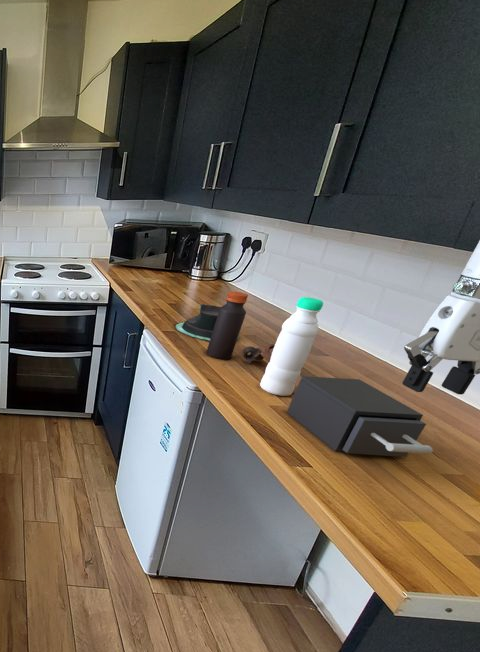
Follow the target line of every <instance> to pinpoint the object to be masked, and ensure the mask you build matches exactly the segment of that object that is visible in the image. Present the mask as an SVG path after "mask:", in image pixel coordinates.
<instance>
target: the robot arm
mask: <svg viewBox="0 0 480 652" xmlns="http://www.w3.org/2000/svg"><path fill="white" fill-rule="evenodd" d="M403 349H404V352H405V354H406V355H407V359H408V360H409V362H408V364H409V365H410V368H409V369H408V372H407V373H406V375H405V377H404V378H403V380H402V383H401V384H402V385H403V386H404V387H406V388H408V389H410V390H411V391H414V392H416V393H423V392H424V391H425V389H426V387H427V385H428V384H429V382H430V380H431V378H432V377H433V375H434V372H433V371H432V370H433V369H434V368H435V367H436V366H437V365H438V364H440V363H441V362H442V361H443V360H447V361H457V364H456V365H457V366H452V367H451V368H450V370H449V371H448V373H447V375H446V376H445V378H444V380H443V381H442V382H441V387H442V388H443V389H445V390H448V391H450V392H453V393H454V394H456V395H464V394H465V393H466V391H467V389H468V388H469V386H470V385H471V383H472V382H473V380H474V379H475V377H476V375H480V240H479V241H478V243H477V245H476V247H475V248H474V250H473V252H472V254H471V256H470V257H469V259H468V260H467V262H466V265H465V266H464V268H463V270H462V272H461V274H460V275H459V277H458V279H457V281H456V282H455V283H453V285H452V289H451V292H450V294H448V295H447V296H446V297H445V298H444V299H443V300H442V301H441V302H440V303H439V305H438V307H437V308H436V309H435V310H434V312H433V313H432V315H431V316H430V318H428V320H427V321H426V324H425V325H424V327H423V329H422V330H421V332H420V334H419V336H418V337H417V338H416V339H414V340H412V341H410V342H409V343H406V344H405V345H404V346H403ZM428 356H430V358H429V359H428V360H427V359H426V358H427V357H428Z"/></svg>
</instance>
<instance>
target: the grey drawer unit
mask: <svg viewBox="0 0 480 652" xmlns="http://www.w3.org/2000/svg"><path fill="white" fill-rule="evenodd" d="M286 414H288V415H289V416H290V417H292V418H293V419H294V420H295V421H297V422H298V423H299V424H300V425H302V426H303V427H304V428H305V429H306V430H308V431H309V432H310V433H311V434H313V435H314V436H315V437H316V438H318V439H319V440H320V441H321V442H323V443H324V444H325V445H327V446H328V447H329V448H330V449H332V450H333V451H334V452H337V453H338V452H340V453H346V452H345V451H344V450H342V449H343V447H344V445H345V444H344V442H345V440H346V438H347V436H348V435H349V433H350V431H351V429H352V427H353V425H354V423H355V421H356V419H357V417H358V415H367V416H384V417H401V418H408V419H407V420H420V421H422V418H423V417H424V414H422V413H421V412H419V411H417V410H415V409H413V408H411V407H410V406H408V405H406V404H405V403H402V402H401V401H400V400H397V399H396V398H394V397H392V396H390V395H389V394H387V393H385V392H383V391H381V390H379V389H378V388H375V387H374V386H373V385H371V384H368V383H366V382H365V381H363V380H361V379H359V378H358V379H357V378H342V377H341V378H340V377H325V376H324V377H321V376H308V375H307V376H305V375H302V376H301V377H300V380H299V382H298V385H297V387H296V389H295V391H294V394H293V395H292V398H291V401H290V403H289V405H288V408H287V411H286Z"/></svg>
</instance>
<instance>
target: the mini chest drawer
mask: <svg viewBox="0 0 480 652" xmlns="http://www.w3.org/2000/svg"><path fill="white" fill-rule="evenodd" d="M407 419H408V418H401V417H384V416H367V415H358V417H357V419H356V421H355V423H354V425H353V427H352V429H351V431H350V433H349V435H348V436H347V438H346V440H345V442H344V444H345V445H344V447H343V449H342V450H344V451H345V452H344V453H346V454H353V455H355V454H356V455H370V456H386V457H400V458H401V457H403V458H407V457H408V455H409V454H410V453H413V454H426V455H427V454H428V455H431V454H432V453H433V452H434V451H433V448H432V446H430V445H427V444H422V443H421V442H419V441H418V439H419V437H420V435H421V434H422V432H423V430H424V429H425V427H426V426H427V423H425V422H424V421H422V420H407Z"/></svg>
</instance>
